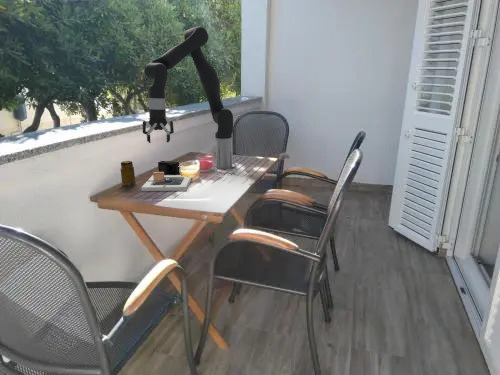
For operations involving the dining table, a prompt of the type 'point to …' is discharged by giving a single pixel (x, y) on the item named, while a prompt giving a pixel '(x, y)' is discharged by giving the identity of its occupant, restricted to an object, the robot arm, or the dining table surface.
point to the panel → (151, 187)
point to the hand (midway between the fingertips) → (158, 142)
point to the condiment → (127, 173)
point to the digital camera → (168, 167)
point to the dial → (164, 179)
